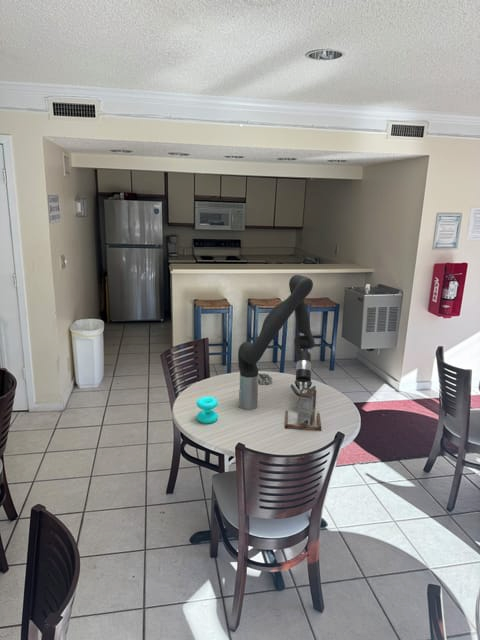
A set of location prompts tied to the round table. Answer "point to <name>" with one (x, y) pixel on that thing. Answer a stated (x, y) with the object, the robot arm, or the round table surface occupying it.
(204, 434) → the round table surface
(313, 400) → the coffee box
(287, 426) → the open wooden frame
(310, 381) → the robot arm
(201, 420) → the turquoise spool
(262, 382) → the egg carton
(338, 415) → the round table surface
